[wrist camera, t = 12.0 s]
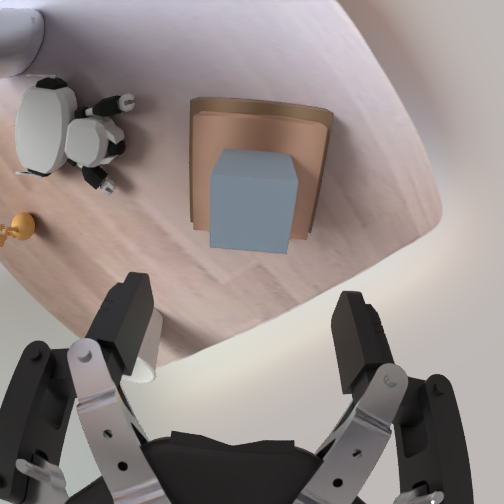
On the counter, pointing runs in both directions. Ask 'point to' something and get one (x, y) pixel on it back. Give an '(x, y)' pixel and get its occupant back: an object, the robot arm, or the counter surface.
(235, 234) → the slate brick
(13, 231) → the figurine
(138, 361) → the dixie cup
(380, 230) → the counter surface
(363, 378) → the robot arm
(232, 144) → the wooden stepped block
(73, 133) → the robot toy
